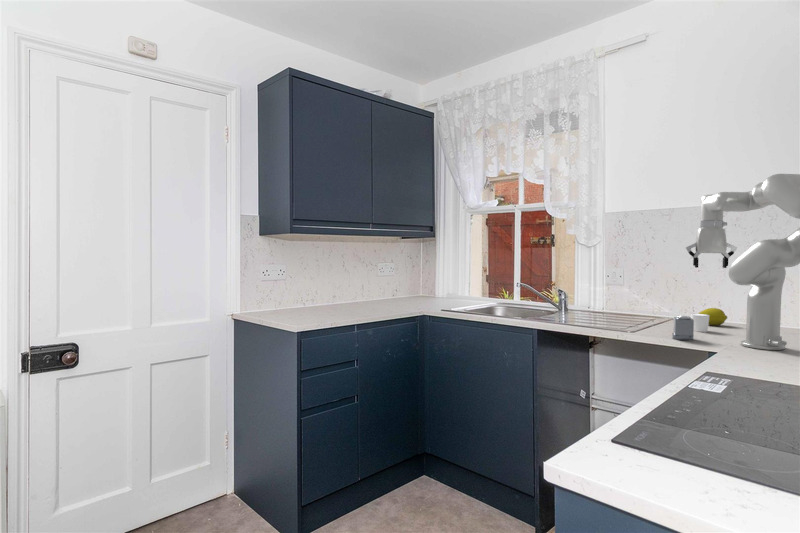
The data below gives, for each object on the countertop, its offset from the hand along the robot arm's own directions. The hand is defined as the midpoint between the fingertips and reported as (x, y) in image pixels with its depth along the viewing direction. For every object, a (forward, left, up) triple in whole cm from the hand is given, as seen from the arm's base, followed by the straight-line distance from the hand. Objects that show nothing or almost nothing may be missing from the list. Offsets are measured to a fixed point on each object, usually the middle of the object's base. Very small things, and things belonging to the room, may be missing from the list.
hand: (710, 267), depth 187 cm
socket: (-9, +16, -26) cm, 31 cm away
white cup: (+9, -2, -28) cm, 29 cm away
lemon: (+23, -17, -28) cm, 40 cm away
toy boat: (-3, +13, -27) cm, 31 cm away
